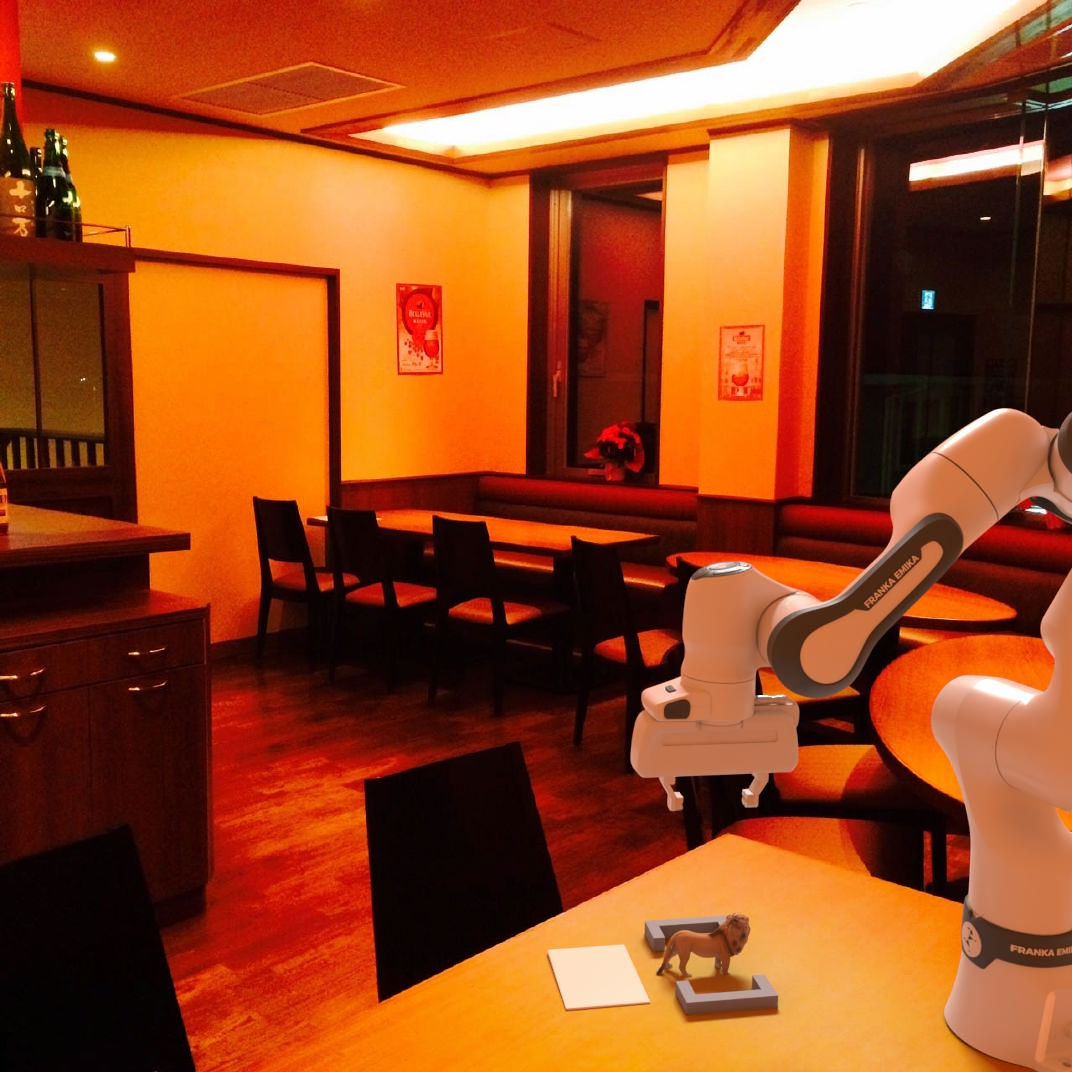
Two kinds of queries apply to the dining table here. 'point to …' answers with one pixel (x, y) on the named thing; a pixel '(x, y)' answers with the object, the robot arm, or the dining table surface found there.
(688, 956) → the lion figurine
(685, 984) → the grey bracket pair
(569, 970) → the ceramic tile
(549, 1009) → the dining table surface
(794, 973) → the dining table surface
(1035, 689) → the robot arm
